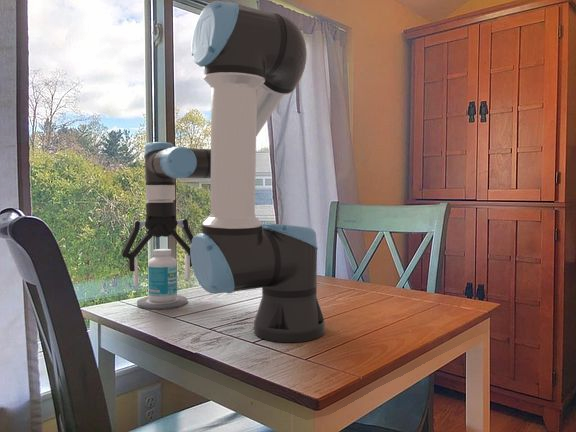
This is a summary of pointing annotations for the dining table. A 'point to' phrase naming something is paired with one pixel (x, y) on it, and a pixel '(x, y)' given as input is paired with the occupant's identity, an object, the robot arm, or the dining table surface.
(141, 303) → the coaster
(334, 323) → the dining table surface
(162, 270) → the pill bottle
